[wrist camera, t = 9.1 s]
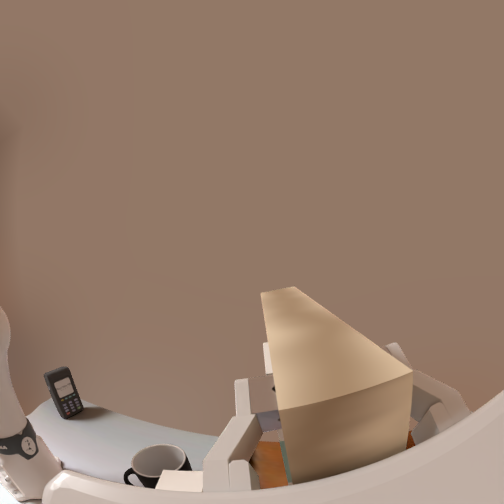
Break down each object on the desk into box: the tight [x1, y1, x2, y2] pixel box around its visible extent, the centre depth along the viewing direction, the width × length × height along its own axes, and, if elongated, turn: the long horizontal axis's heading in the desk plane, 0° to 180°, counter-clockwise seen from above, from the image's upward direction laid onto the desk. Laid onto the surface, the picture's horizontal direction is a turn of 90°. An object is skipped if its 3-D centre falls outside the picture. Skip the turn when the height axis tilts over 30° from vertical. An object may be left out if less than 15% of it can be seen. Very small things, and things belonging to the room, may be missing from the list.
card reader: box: [44, 367, 83, 419], centre depth 57 cm, size 9×4×15 cm, turn 161°
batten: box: [261, 287, 413, 485], centre depth 16 cm, size 4×22×4 cm, turn 179°
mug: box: [124, 444, 192, 489], centre depth 28 cm, size 12×9×10 cm
